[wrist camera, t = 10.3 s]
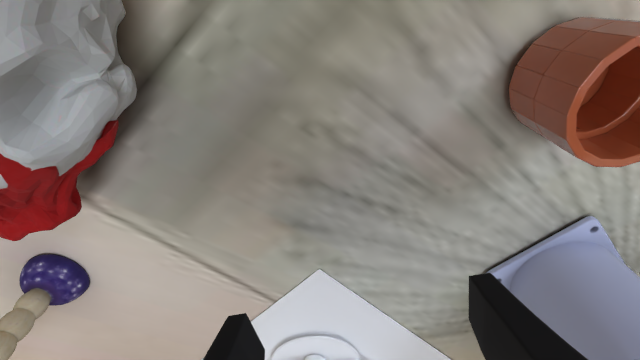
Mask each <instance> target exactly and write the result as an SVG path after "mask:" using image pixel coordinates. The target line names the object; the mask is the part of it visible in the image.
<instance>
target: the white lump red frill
mask: <svg viewBox="0 0 640 360" xmlns="http://www.w3.org/2000/svg"><path fill="white" fill-rule="evenodd" d="M124 16H125V10H124V7H123V4H122V1H121V0H0V237H1V238H5V239H8V240H12V241H18V240H21V239H22V238H23V237H25V236H26V235H27V234H29V233H33V232H38V231H45V230H53V229H54V228H56V227H57V226H58V225H60V224H61V223H63V222H65V221H67V220H69V219H71V218H72V217H74V216H76V215H77V214H78V213H79V212H80V210H81V207H82V206H81V199H80V195H79V192H78V190H77V188H76V183H77V176H78V175H79V174H80V172H82V171H83V170H85V169H87V168H88V167H90V166H92V165H94V164H95V163H96V162H97V161H98V159H99V158H100V157H101V156H102V155H103V154H104V153H105V151H107V150H108V149H110V148H111V147H112V146H113V144H114V140H115V137H116V133H117V130H118V126H119V124H118V120H116V119H117V118H118V117H119V115H120V114H121V113H122V112H123V110H124V109H126V108H127V107H128V106H129V105H130V104H131V103H132V102H133V101H134V99H135V98H136V93H137V88H136V83H135V78H134V75H133V73H132V71H131V69H130V68H129V67H128V66H126V65H124V63H123V62H122V60H121V58H120V56H119V54H118V48H117V38H116V33H117V28H118V24H119V23H120V22H121V21H122V19H123V18H124Z"/></svg>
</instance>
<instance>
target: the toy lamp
mask: <svg viewBox="0 0 640 360" xmlns="http://www.w3.org/2000/svg"><path fill="white" fill-rule="evenodd" d="M89 283H90V280H89V277H88V275H87V273H86V272H85V270H84V269H83V268H82V267H81V266H80V265H78V264H77V263H75V262H73V261H72V260H70V259H68V258H65V257H62V256H58V255H50V254H48V255H45V254H44V255H39V256H35V257H33V258H31V259H30V260H29V261H28V262H27V263H26V264H25V266H24V267H23V269H22V271H21V275H20V286H21V289H22V291H23V292H24V295H22V296H21V297H20V298H19V299H18V301H17V302H16V303H15V305H14V308H13V310H12V311H11V312H9V313H7V314H6V315H5V316H3V317H2V318H1V319H0V360H8V359H9V358H10V357H11V355H12V354H13V352H14V350H15V348H16V346H17V342H19V341H20V340H22V339H23V338H24V337H25V336H26V335H27V334H28V333H29V332H30V330H31V329H32V327H33V325H34V322H35V320H36V319H37V318H39V317H40V316H41V315H42V314H43V313H44V312H45V311H46V309H47V308H48V306H49V305H63V304H66V303H69V302H71V301H73V300H75V299H77V298H78V297H79V296H81V295H82V294H83V293H84V292H85V291H86V290H87V289H88V287H89Z"/></svg>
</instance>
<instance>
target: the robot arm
mask: <svg viewBox="0 0 640 360" xmlns="http://www.w3.org/2000/svg"><path fill="white" fill-rule="evenodd" d="M469 320H470V323H471V326H472V328H473V331H474V333H475V336H476V338H477V341H478V343H479V346H480V348H481V351H482V353H483V355H484V357H485V359H486V360H640V277H639V276H638V275H636V274H635V273H634V272H633V271H632V270H631V269H630V268H628V267H627V266H626V265H625V263H624V261H623V260H622V258H621V257H620V255H619V253H618V252H617V250H616V248H615V247H614V245H613V243H612V242H611V240H610V238H609V237H608V235H607V234H606V232H605V230H604V229H603V227H602V225H601V224H600V222H599V221H598V220H597V219H596V218H595V217H593V216H588V217H585V218H583V219H582V220H580V221H578V222H576V223H574V224H572V225H571V226H569V227H567V228H565V229H563V230H562V231H560V232H558V233H556V234H554V235H553V236H551V237H549V238H547V239H545V240H543V241H542V242H540V243H538V244H536V245H534V246H533V247H531V248H529V249H527V250H525V251H524V252H522V253H520V254H518V255H516V256H514V257H513V258H511V259H509V260H507V261H505V262H504V263H502V264H500V265H498V266H496V267H495V268H493V269H491V270H489V271H488V272H487V273H485V274H479V275H473V276H469ZM203 360H265V349H264V347H263V345H262V343H261V341H260V339H259V337H258V335H257V333H256V331H255V329H254V328H253V326H252V324H251V322H250V320H249V318H248V316H247V314H246V313H244V314H238V315H232V316H228V318H227V319H226V321H225V323H224V324H223V326H222V328H221V329H220V331H219V333H218V335H217V336H216V338H215V340H214V342H213V343H212V345H211V347H210V349H209V350H208V352H207V354H206V356H205V357H204V359H203Z"/></svg>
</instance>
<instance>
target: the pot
mask: <svg viewBox="0 0 640 360" xmlns="http://www.w3.org/2000/svg"><path fill="white" fill-rule="evenodd" d="M509 96H510V106H511V109H512V111H513V112H514V114H515V115H516V117H517V119H518V120H519V121H520V122H521V123H522V124H524V125H525V126H527V127H529V128H530V129H532V130H533V131H535V132H537V133H538V134H540V135H541V136H543V137H545V138H546V139H548V140H549V141H551V142H553V143H554V144H556V145H557V146H559V147H561V148H562V149H564V150H565V151H567V152H569V153H570V154H572V155H573V156H575V157H577V158H579V159H581V160H583V161H585V162H587V163H589V164H591V165H593V166H596V167H622V166H626V165H629V164H633V163H636V162H640V21H634V20H622V19H610V18H594V17H580V18H579V17H578V18H575V19H572V20H569V21H567V22H564V23H561V24H559V25H556V26H554V27H552V28H551V29H550V30H548V31H547V32H546V33H544V34H543V35H542V36H541V37H539V38H538V39H537V40H535V41H534V42H533V43H532V45H530V47H529V48H528V49H527V51H526V52H525V54H524V55H523V56H522V58H521V59H520V61H519V62H518V63H517V66H515V69H514V72H513V75H512V78H511V81H510V85H509Z"/></svg>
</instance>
